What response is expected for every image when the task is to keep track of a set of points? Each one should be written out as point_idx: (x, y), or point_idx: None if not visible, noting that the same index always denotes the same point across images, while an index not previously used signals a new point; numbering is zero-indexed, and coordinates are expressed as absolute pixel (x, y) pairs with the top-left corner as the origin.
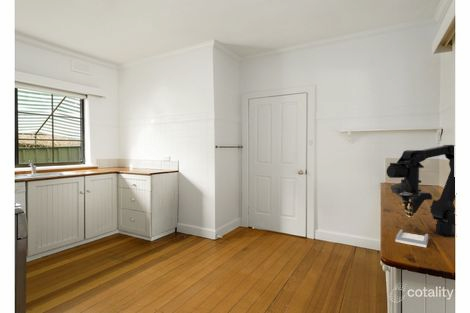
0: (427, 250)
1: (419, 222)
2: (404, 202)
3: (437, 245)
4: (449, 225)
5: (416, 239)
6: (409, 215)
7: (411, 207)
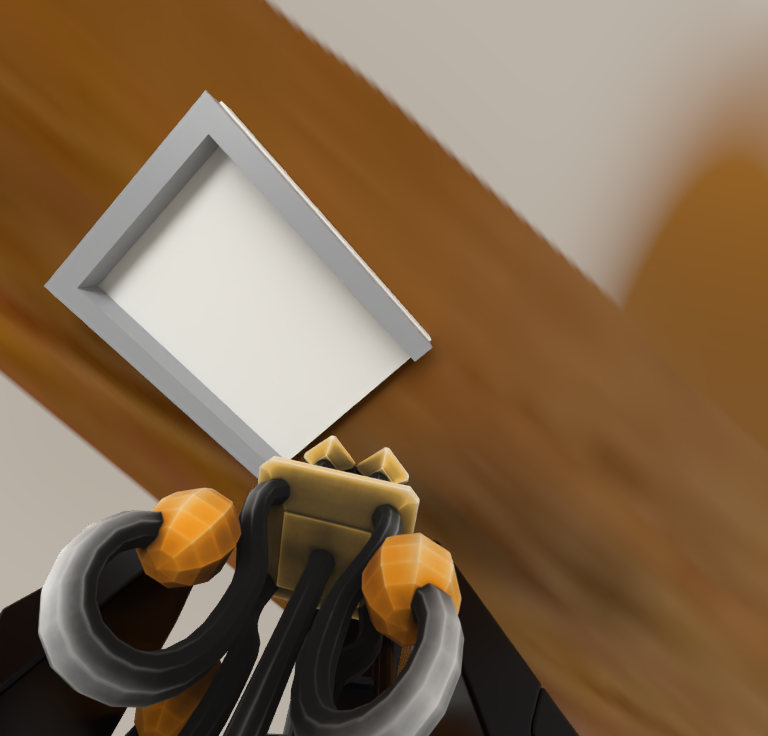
0: (17, 237)
1: (644, 703)
2: (480, 703)
3: (134, 410)
4: (285, 724)
5: (209, 318)
6: (314, 464)
7: (344, 653)
